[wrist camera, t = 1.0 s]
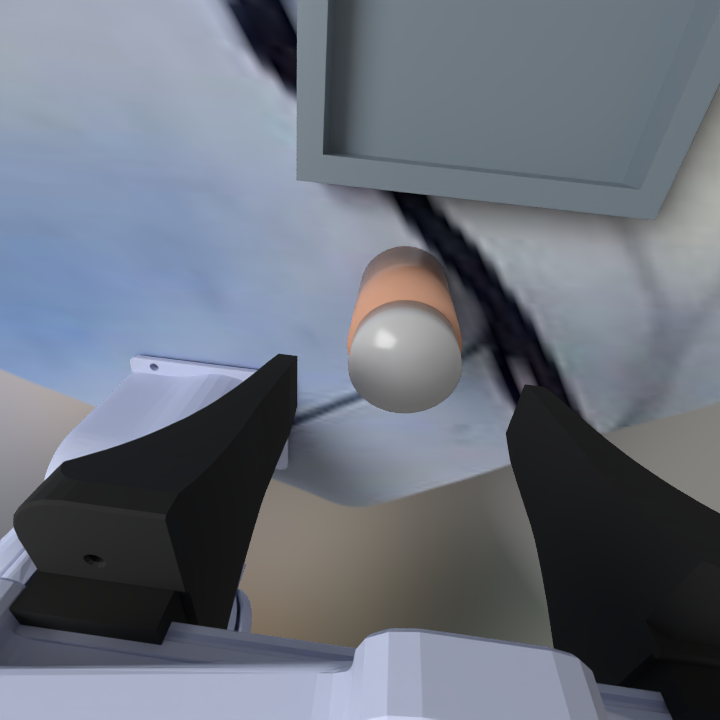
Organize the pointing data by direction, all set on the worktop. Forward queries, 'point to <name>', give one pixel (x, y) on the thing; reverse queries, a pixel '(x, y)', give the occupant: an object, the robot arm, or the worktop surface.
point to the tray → (506, 98)
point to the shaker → (404, 333)
